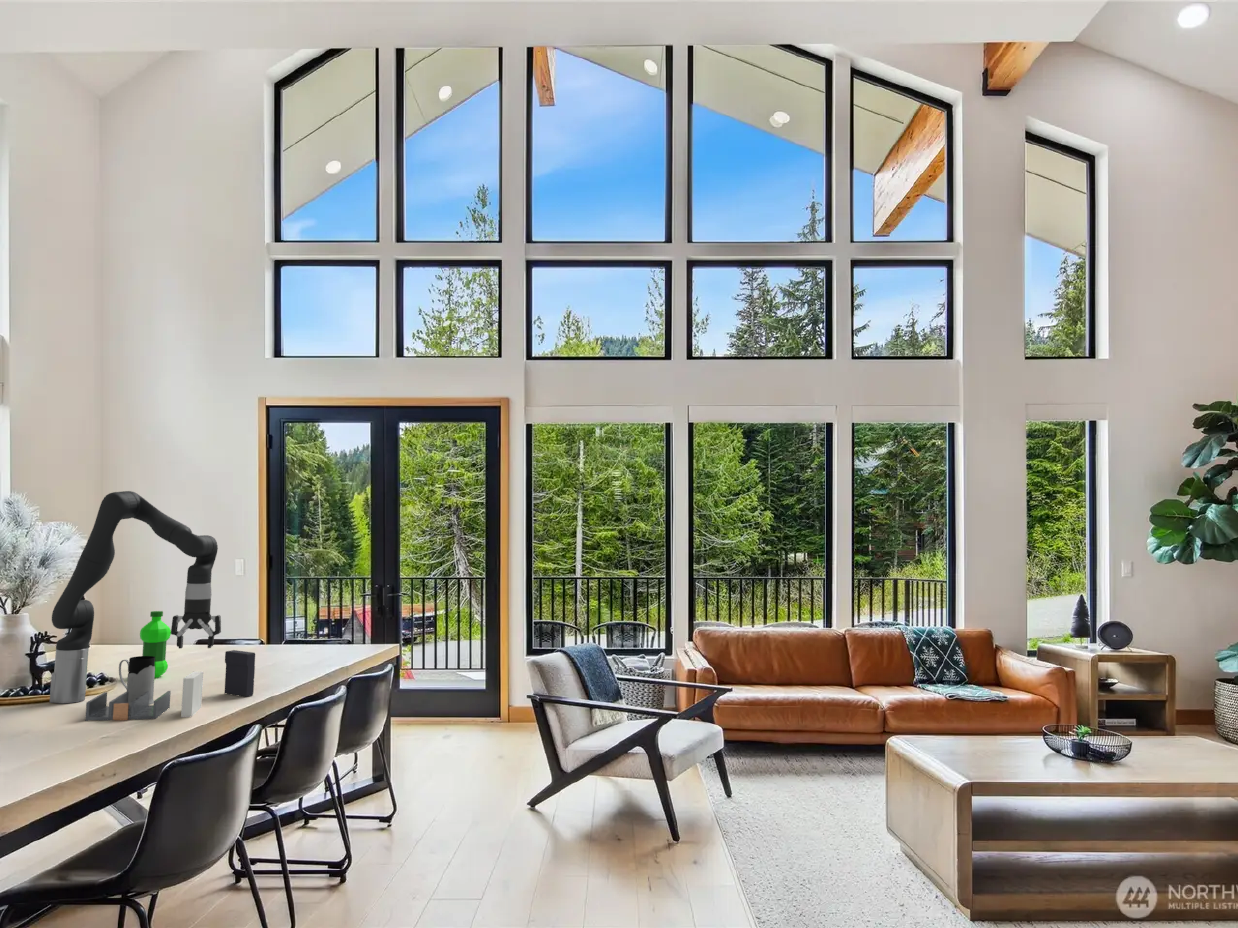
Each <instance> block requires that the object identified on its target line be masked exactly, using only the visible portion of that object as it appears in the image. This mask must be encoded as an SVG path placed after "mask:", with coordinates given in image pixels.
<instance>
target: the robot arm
mask: <svg viewBox="0 0 1238 928" xmlns="http://www.w3.org/2000/svg"><path fill="white" fill-rule="evenodd" d="M128 519H134V520H138V521H140V522H141V521H142V522H144V523H145V524H147V525H148V526H149V527H150V528H151V530H152V531H153V533H154V534H155V535H157V537H159V538H161V539H162V540H164V541H166V542H168V543H169V544H172V545H174V546H175V547H176V548H178V549H179V550H180V551H181V552H182V553H184V554H185V555H186V556H188V557H191V558H195V562H194V563H193V564H192V565H189V566H188V568H187V573H186V574H187V575H186V587H185V591H184V592H185V593H184V596H185V597H184V612H183V615H178V614H176V615H173V616H172V621H171V626H170V630H171V635H173V636H175V637H176V647H178V649H182V648H183V646H184V634H185V632H186V631H188V629H189V630H203V631H204V632H206V633H207V635H208V636H207V649H212V647H214V643H215V642H214V641H215V636H217V635H220V633H222V624H221V623H222V620H221V619H222V618H221V615H220V614H217V615H212V614H211V604H212V570H213V567H214V564H215V562H216V558H217V554H218V549H219V548H218V542H217V540H216V538H215V537H213V536H212V535H197V534H194V533H193V532H192V529H191V527H189V526H187V525H186V524H184V523H182V522H180V521H178V520H176V519H174V518H173V517H172V516H171V517H170V516H169V515H167V514H165V513H164V512H162V511H161V510H159V509H158V508H157V507H156V506H154V505H153V504H151V503H150V502H149V501H148V500H146V499H145V498H144V497H142V496H141V495H140V494H138V493H136V492H135V491H132V490H125V491H112V492H109V493H108V494H106V495H105V496H104V497H103V499H102V500H101V502H100V505H99V508H98V512H97V515H96V518H95V521H94V524H93V527H92V530H91V532H90V535H89V536H88V539H87V542H86V544H85V546H84V548H83V549H82V552H81V555H80V556H79V558H78V561H77V563H76V566H75V568H74V571H73V573H72V574H71V577H70V579H69V581H68V583H67V584H66V586H65V589H64V590H63V592H62V593H61V595H60V597H59V598H58V600H57V602H56V604H55V605H54V608H53V611H52V613H51V624H52V625H53V627H54V628H55V629H58V630H69V629H71V630H70V632H69V633H68V634H66V635H65V636H63V637H62V638H60V639H58V640H57V642H56V643H55V659H54V668H53V669H54V671H53V672H52V673H51V677H50V690H49V691H50V693H49V703H53V704H71V703H78V702H82V701H84V700H85V699H86V694H87V693H86V692H87V691H86V690H87V677H88V676H87V675H88V664H89V663H88V660H89V649H90V648H89V647H90V646H89V645H90V642H91V640H92V637H93V628H94V619H95V609H94V604H92V603H93V602H91V601H90V600H87V599H83V597H84V595H85V594H86V593H87V592H88V591H90V590H91V589H92V588H93V587H94V586H95V585H96V584H98V583H99V582H100V581H101V580H102V579H104V577H105V576H106V575H107V574H108V572H109V571H110V568H111V565H112V564H113V561H114V559H115V554H116V553H115V551H116V549H115V544H114V538H113V537H114V533H115V531H116V529H117V527H118V525H119V523H120V522H121V520H128ZM181 621H183V623H184V625H183V626H182V627H181V629H180V630H178V627H179V623H180V622H181ZM210 621H212V623H214V630H213V629H212V627H211V625H210V624H209V622H210Z"/></svg>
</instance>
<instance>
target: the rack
mask: <svg viewBox="0 0 1238 928" xmlns="http://www.w3.org/2000/svg"><path fill="white" fill-rule="evenodd" d="M128 694H129V692H127V691H125V692H123V693H122V694H120V695H118V696H117V697H115V698H113V699H111V700H110V701H109V702H108V706H107V701H108V700H107V699H108V692H107V691H106V692H105V691H104V692H102V693H101V694H99V695H97V696H96V697H94V698H92V699H90V700H88V701H87V702H86V704H85V705H86V706H85V717H84V718H85V722H89V721H88V720H99V721H113V720H115V721H130V720H131V719H135V720H156V719H157V718H158V716H159V717H160V716H161V715H162V713H163V712H164V713H165V712H167V711H168V710H169V709H170V707H171V706H170V705H171V694H172V693H171V690H167V691H166V692H164V693H163V694H162V695H160V696H159V697H157V698H156V699H154V703H153V704H150V705H149V696H150V691H147V692H145V693H144V694H142V695H141V696H139V697H138V698H136V699H135V700H133V701H132V704H131V706H129V703H128ZM168 708H169V709H168ZM167 709H168V710H167ZM164 713H163V714H164ZM131 721H132V720H131Z"/></svg>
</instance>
